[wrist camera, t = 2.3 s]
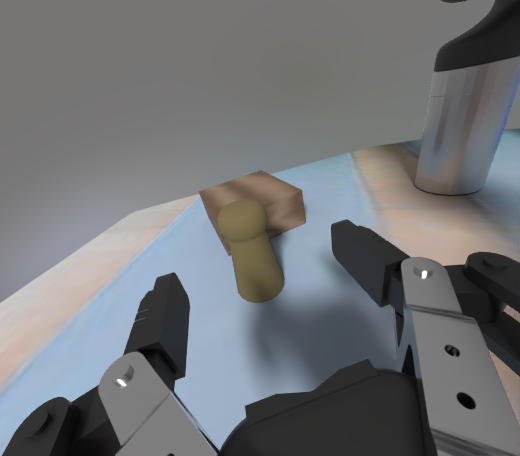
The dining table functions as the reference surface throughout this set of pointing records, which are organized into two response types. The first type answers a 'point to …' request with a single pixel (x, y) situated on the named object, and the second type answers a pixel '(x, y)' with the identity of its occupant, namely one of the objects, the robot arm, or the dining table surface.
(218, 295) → the dining table surface
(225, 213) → the cork
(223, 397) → the dining table surface
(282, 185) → the walnut block
